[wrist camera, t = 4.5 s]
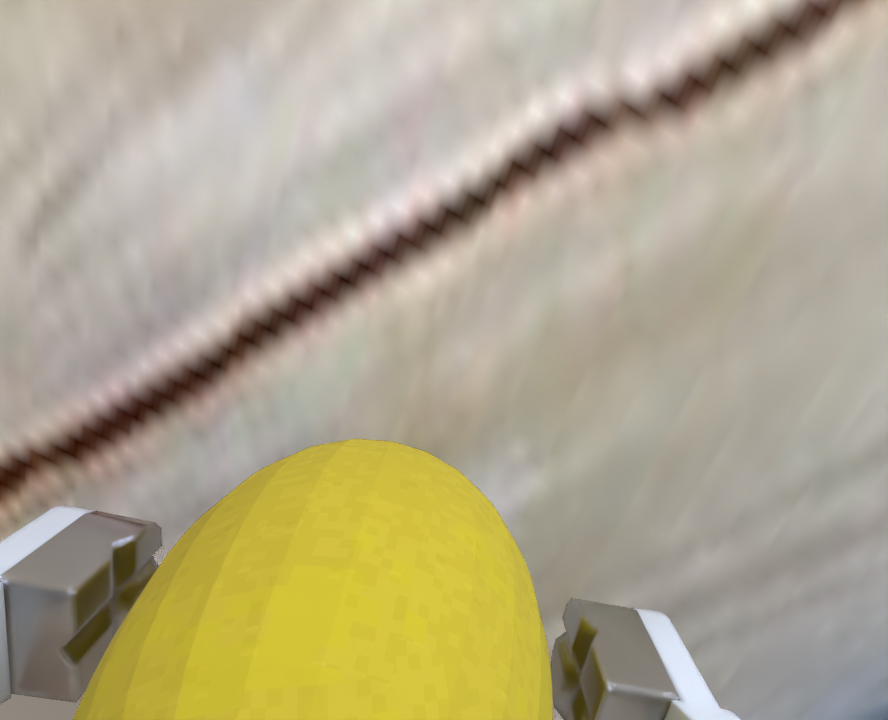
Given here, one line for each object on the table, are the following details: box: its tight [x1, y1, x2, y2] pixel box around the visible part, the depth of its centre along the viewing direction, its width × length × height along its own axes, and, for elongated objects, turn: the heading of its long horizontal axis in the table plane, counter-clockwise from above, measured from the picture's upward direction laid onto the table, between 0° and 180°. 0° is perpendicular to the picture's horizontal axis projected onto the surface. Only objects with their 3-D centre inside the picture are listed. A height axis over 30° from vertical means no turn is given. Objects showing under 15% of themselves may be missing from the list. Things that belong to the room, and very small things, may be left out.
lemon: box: [73, 439, 553, 720], centre depth 6 cm, size 6×6×8 cm
